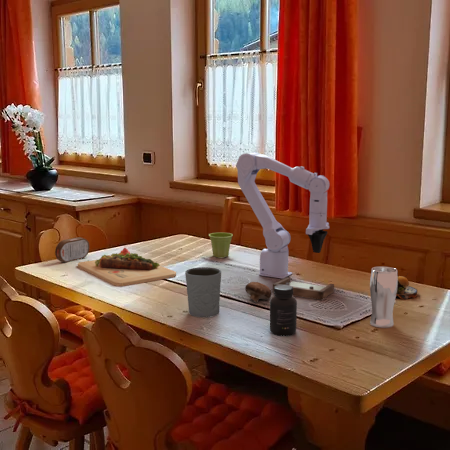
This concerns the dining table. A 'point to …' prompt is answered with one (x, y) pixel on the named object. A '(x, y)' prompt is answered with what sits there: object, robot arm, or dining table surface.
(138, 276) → the cutting board
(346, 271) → the dining table surface
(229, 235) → the plant pot
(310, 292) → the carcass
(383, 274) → the beer glass
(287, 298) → the supplement bottle
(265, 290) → the mushroom
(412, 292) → the salad plate
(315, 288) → the door
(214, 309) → the grey tapered cup
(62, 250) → the tin
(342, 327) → the dining table surface
